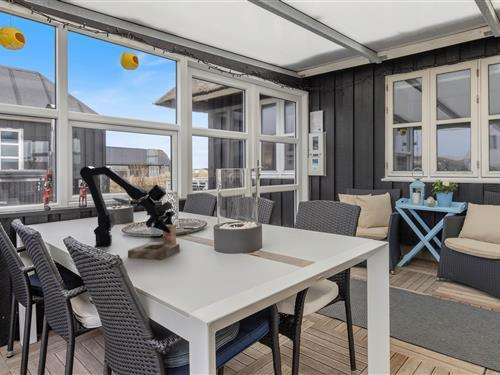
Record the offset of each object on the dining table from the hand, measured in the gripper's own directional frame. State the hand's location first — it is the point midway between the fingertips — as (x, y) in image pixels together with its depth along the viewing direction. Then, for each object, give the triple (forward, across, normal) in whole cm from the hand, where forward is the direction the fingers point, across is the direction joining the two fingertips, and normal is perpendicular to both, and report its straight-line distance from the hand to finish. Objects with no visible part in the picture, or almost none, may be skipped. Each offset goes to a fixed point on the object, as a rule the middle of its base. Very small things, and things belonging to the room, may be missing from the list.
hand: (172, 231), depth 165 cm
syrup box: (-9, +19, +19) cm, 28 cm away
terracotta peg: (+4, 0, +6) cm, 7 cm away
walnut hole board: (+5, -15, +5) cm, 17 cm away
